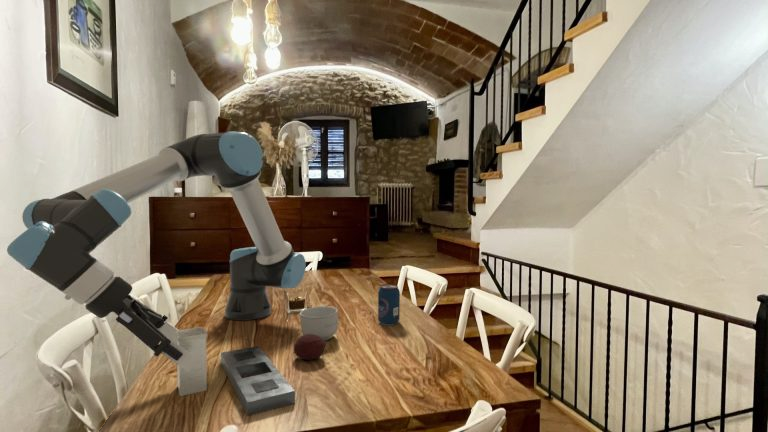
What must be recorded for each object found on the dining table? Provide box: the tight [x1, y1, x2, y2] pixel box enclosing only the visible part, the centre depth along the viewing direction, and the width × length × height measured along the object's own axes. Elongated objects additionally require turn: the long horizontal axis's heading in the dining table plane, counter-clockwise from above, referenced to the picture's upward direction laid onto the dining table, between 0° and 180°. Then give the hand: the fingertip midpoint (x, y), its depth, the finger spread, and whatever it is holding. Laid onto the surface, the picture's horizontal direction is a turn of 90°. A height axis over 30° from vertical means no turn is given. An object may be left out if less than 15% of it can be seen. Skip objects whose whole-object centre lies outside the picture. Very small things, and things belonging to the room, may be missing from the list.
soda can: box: [377, 283, 401, 326], centre depth 132 cm, size 7×7×12 cm
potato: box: [293, 334, 326, 360], centre depth 102 cm, size 7×8×6 cm
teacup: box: [299, 304, 339, 341], centre depth 119 cm, size 14×11×8 cm
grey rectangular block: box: [176, 326, 208, 397], centre depth 86 cm, size 5×5×12 cm
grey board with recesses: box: [220, 345, 296, 416], centre depth 89 cm, size 28×9×3 cm, turn 31°
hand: (189, 353), depth 85 cm, fingers open, 13 cm apart
